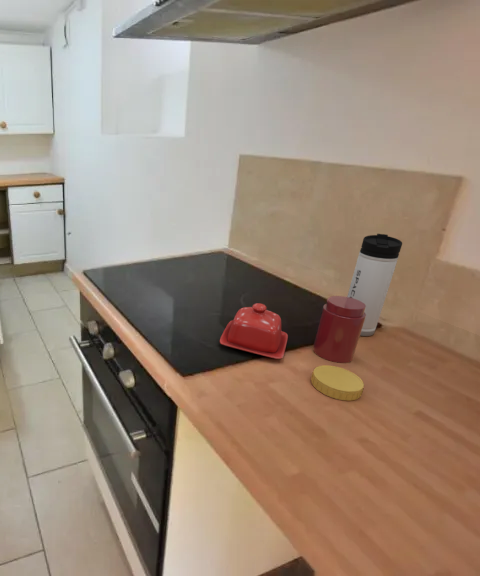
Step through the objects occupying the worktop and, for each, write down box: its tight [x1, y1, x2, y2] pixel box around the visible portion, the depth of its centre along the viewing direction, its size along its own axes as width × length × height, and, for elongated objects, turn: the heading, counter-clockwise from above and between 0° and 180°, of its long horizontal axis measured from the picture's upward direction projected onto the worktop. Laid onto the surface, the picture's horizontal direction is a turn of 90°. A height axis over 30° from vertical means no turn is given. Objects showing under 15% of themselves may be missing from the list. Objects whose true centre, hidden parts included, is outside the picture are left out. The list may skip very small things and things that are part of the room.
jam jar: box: [312, 295, 366, 364], centre depth 70 cm, size 7×7×11 cm
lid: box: [310, 364, 365, 402], centre depth 62 cm, size 7×7×2 cm
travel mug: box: [346, 233, 403, 337], centre depth 77 cm, size 6×7×20 cm
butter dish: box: [219, 302, 289, 360], centre depth 73 cm, size 12×12×8 cm
